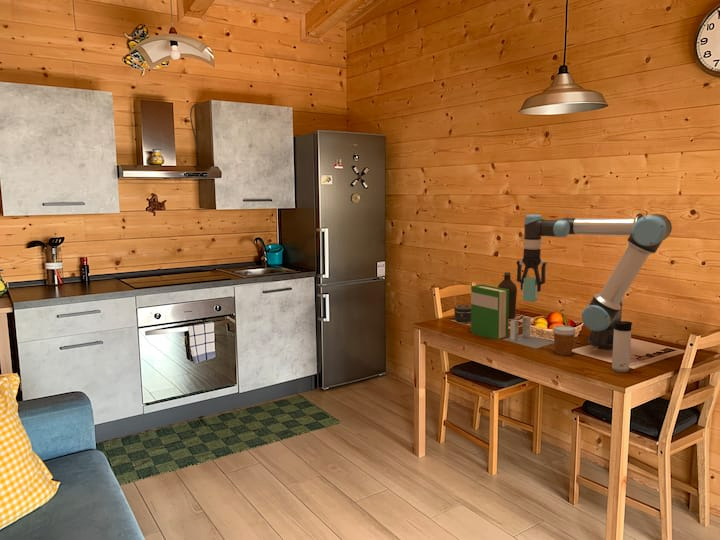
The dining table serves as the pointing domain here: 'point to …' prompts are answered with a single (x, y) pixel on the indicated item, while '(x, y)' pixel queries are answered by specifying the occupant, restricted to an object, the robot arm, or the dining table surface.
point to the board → (532, 342)
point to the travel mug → (621, 346)
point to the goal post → (526, 328)
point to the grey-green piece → (529, 289)
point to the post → (514, 331)
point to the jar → (462, 313)
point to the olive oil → (510, 293)
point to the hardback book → (489, 311)
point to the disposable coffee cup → (563, 339)
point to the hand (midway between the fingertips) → (530, 297)
